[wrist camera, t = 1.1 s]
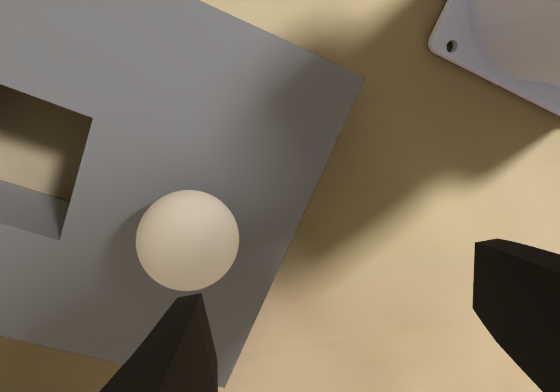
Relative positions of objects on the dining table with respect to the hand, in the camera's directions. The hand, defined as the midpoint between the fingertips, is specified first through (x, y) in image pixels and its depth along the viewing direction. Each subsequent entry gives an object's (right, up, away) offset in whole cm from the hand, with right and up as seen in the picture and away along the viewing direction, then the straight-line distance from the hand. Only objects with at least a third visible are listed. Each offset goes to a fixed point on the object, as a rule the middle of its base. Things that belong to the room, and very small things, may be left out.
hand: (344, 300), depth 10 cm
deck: (-9, +4, +8) cm, 12 cm away
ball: (-5, +1, +3) cm, 6 cm away
